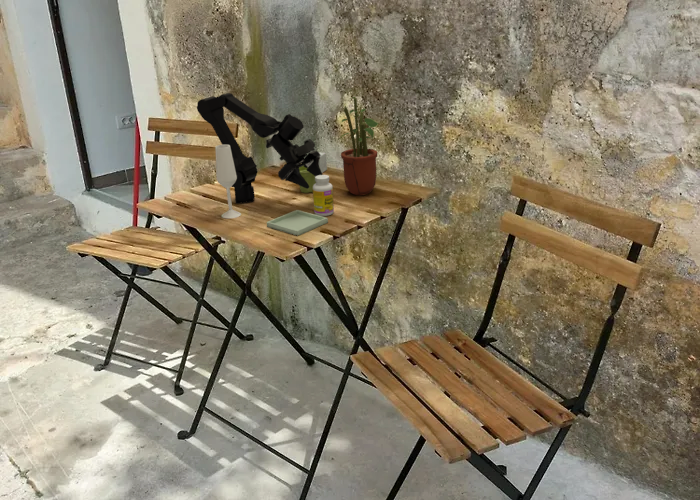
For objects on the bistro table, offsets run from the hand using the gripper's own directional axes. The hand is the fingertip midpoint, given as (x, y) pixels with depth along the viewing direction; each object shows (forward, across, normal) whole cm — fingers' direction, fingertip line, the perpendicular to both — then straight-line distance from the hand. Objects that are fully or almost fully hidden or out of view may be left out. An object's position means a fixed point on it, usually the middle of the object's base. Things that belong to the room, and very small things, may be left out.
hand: (316, 183), depth 218 cm
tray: (+7, -13, +7) cm, 16 cm away
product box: (-11, +41, +26) cm, 50 cm away
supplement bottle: (+9, 0, +6) cm, 11 cm away
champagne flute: (-12, -14, +26) cm, 32 cm away
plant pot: (-4, +19, +18) cm, 27 cm away
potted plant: (+9, +26, +6) cm, 28 cm away
